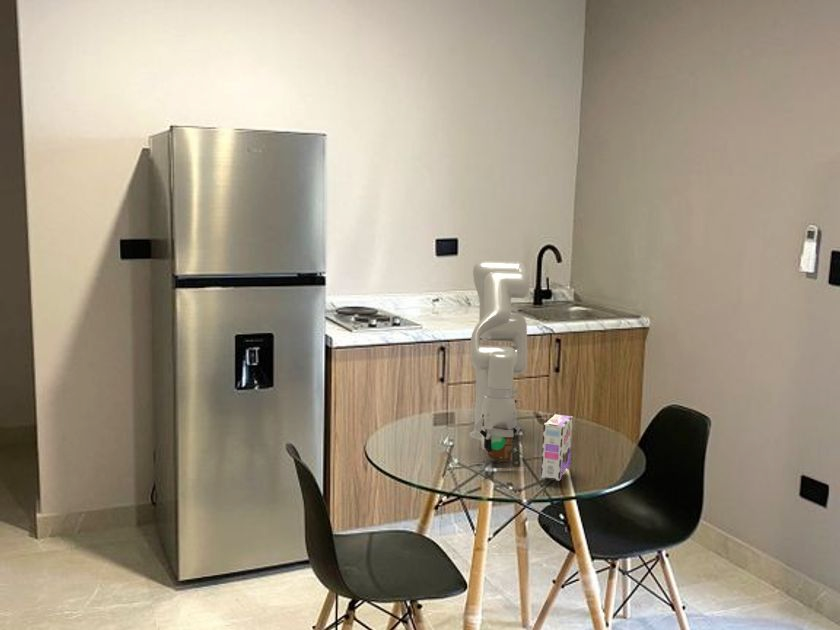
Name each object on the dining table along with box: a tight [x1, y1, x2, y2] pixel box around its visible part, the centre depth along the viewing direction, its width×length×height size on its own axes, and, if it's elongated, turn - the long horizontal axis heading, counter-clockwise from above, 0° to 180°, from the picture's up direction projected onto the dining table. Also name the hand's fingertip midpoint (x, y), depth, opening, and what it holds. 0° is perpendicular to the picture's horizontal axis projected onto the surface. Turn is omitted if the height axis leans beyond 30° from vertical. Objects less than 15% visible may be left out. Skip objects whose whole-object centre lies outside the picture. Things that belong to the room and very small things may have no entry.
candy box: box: [540, 414, 573, 482], centre depth 253 cm, size 14×6×16 cm, turn 157°
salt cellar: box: [480, 428, 487, 451], centre depth 278 cm, size 4×4×7 cm
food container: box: [486, 428, 515, 462], centre depth 260 cm, size 12×6×10 cm, turn 19°
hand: (497, 449), depth 261 cm, fingers closed on food container, 5 cm apart
